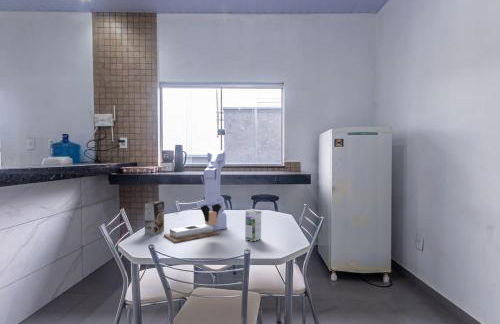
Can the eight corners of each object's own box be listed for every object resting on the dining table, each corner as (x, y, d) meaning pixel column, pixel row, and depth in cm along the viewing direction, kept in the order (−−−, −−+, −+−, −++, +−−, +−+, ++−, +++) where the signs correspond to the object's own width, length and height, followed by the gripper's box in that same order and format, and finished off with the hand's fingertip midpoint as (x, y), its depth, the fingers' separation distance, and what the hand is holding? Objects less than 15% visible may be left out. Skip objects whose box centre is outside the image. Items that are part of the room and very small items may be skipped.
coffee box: (155, 235, 142) (155, 203, 142) (144, 234, 143) (144, 203, 143) (164, 230, 151) (164, 201, 151) (153, 230, 152) (153, 200, 152)
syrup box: (244, 240, 134) (244, 210, 134) (252, 237, 139) (252, 208, 139) (253, 242, 131) (253, 211, 130) (261, 239, 135) (261, 209, 135)
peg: (212, 222, 139) (212, 210, 139) (216, 224, 136) (216, 211, 136) (205, 223, 137) (205, 211, 137) (209, 225, 134) (209, 212, 134)
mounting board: (205, 229, 155) (205, 227, 155) (219, 234, 144) (219, 232, 144) (163, 236, 140) (163, 234, 140) (175, 243, 129) (175, 240, 129)
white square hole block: (205, 229, 151) (205, 223, 151) (212, 231, 145) (212, 226, 145) (170, 235, 139) (170, 229, 139) (176, 238, 133) (176, 232, 133)
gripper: (201, 194, 129) (201, 224, 129) (227, 192, 138) (227, 219, 138) (194, 193, 134) (194, 221, 134) (219, 191, 143) (219, 217, 144)
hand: (210, 220), depth 137 cm, fingers closed on peg, 4 cm apart
